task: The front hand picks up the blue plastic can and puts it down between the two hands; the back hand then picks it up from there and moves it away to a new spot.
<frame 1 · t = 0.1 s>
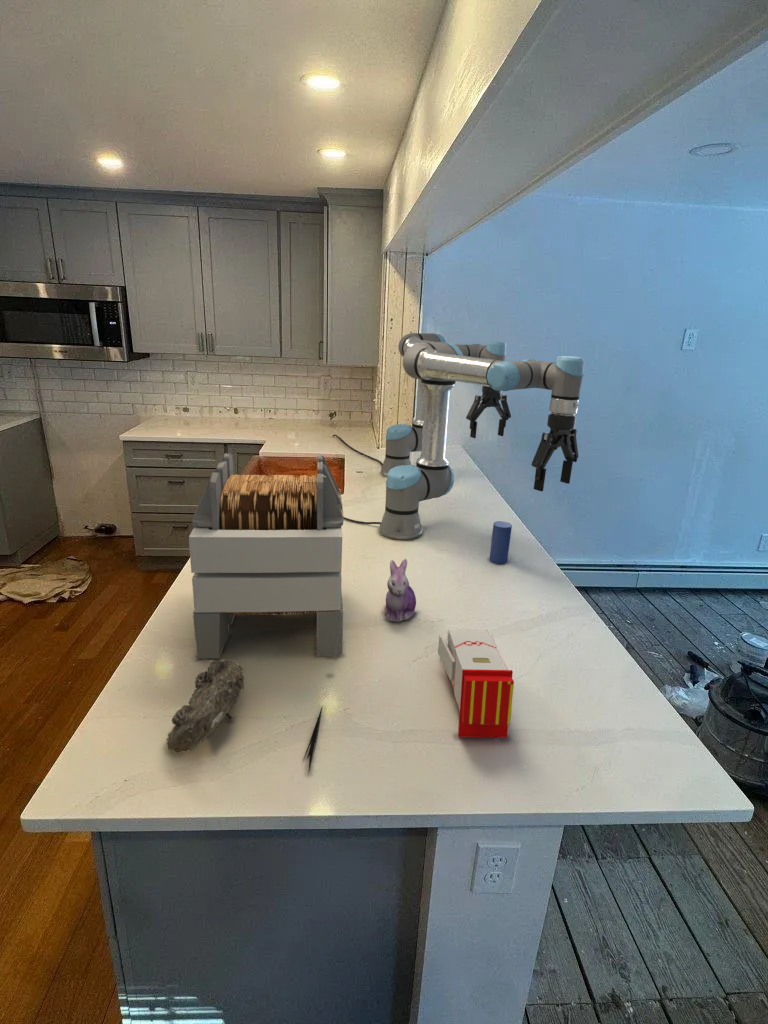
front hand: (551, 486, 166), 28 cm above the counter, tool pointing down, fingers open, 13 cm apart
back hand: (486, 436, 227), 28 cm above the counter, tool pointing down, fingers open, 13 cm apart
fossil: (212, 717, 108), on the counter
feather: (319, 719, 109), on the counter
can: (498, 560, 182), on the counter
toy: (469, 691, 119), on the counter
figurine: (399, 614, 147), on the counter
transformer: (275, 620, 142), on the counter
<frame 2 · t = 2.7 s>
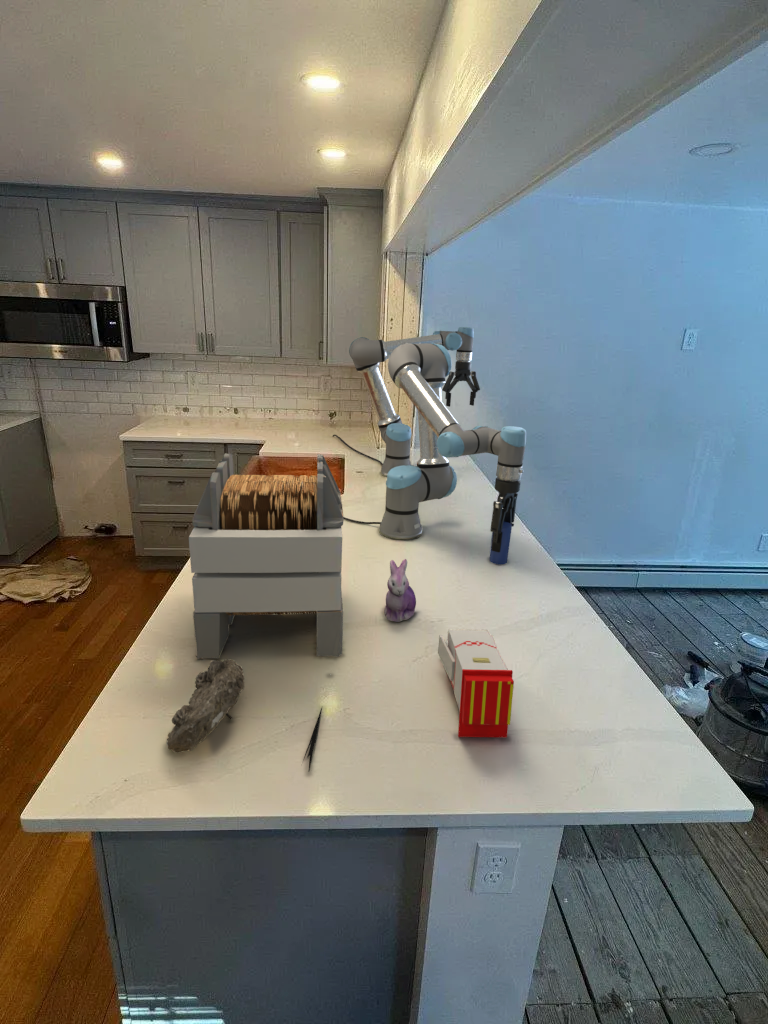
front hand: (499, 547, 180), 5 cm above the counter, tool pointing down, fingers closed on can, 6 cm apart
back hand: (459, 405, 278), 31 cm above the counter, tool pointing down, fingers open, 13 cm apart
can: (498, 560, 182), on the counter, touching front hand
everything else where it was.
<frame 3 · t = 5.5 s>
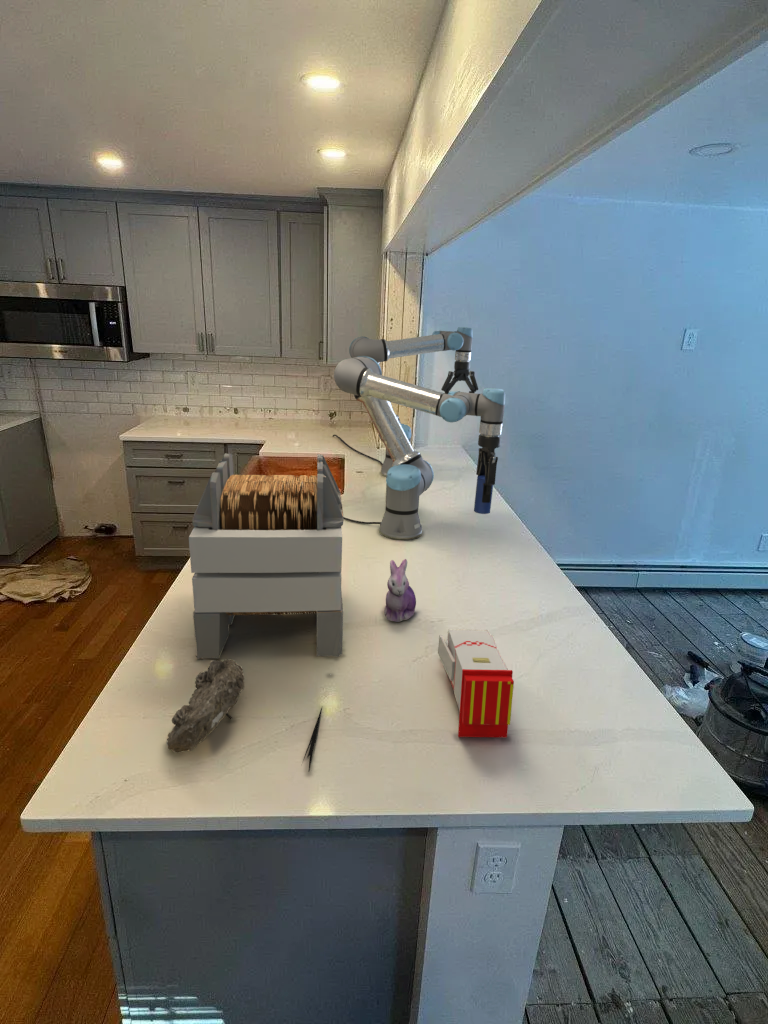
front hand: (483, 499, 201), 13 cm above the counter, tool pointing down, fingers closed on can, 6 cm apart
back hand: (458, 405, 280), 31 cm above the counter, tool pointing down, fingers open, 13 cm apart
can: (481, 511, 202), point 8 cm above the counter, touching front hand
everything else where it was.
when the front hand's fingers open (6 cm above the counter, at t = 8.2 s): can drops 1 cm, on the counter.
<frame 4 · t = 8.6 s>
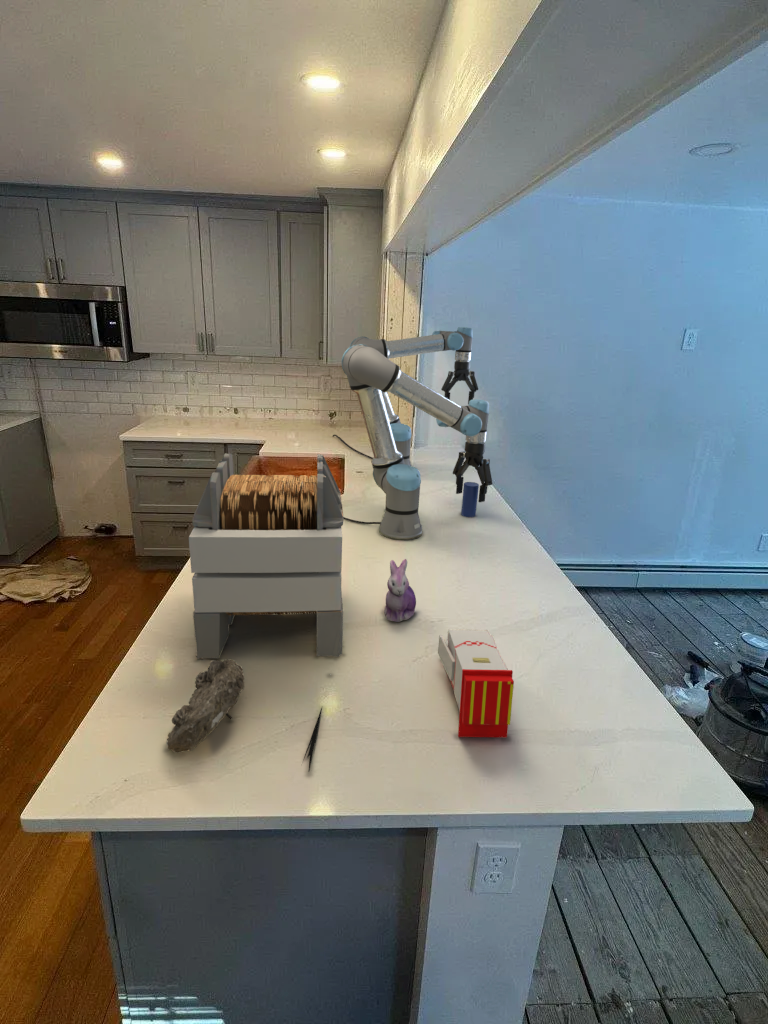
front hand: (470, 497, 219), 7 cm above the counter, tool pointing down, fingers open, 11 cm apart
back hand: (458, 405, 280), 31 cm above the counter, tool pointing down, fingers open, 13 cm apart
can: (468, 514, 222), on the counter
everything else where it was.
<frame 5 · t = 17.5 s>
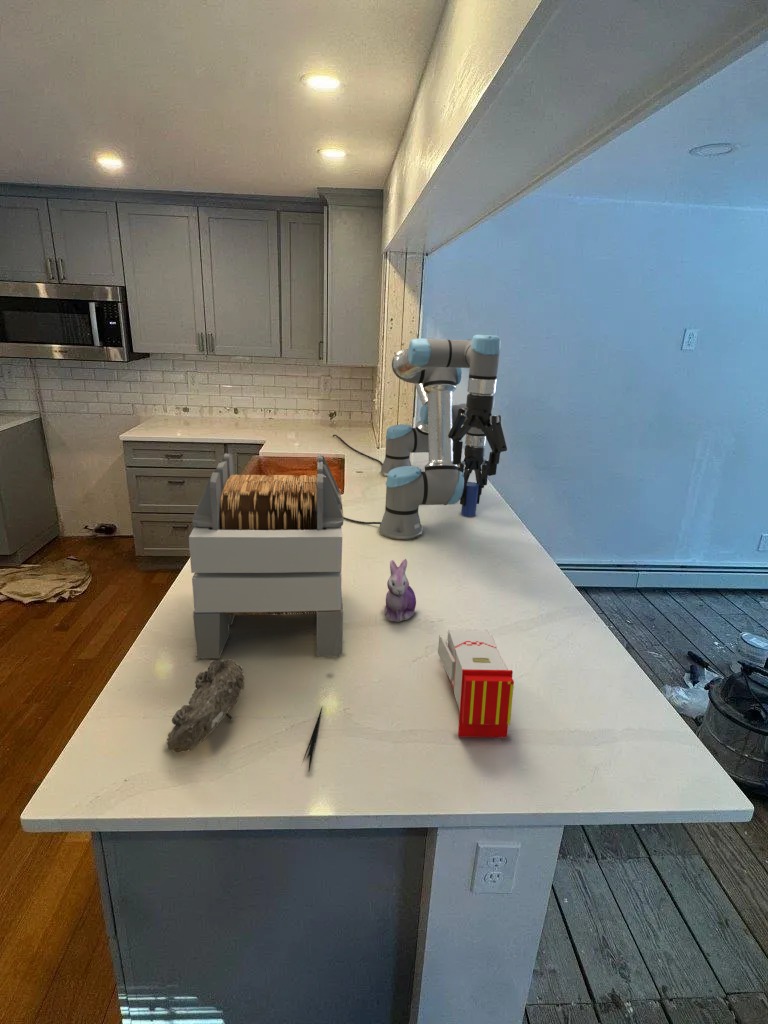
front hand: (473, 469, 162), 32 cm above the counter, tool pointing down, fingers open, 13 cm apart
back hand: (469, 503, 220), 5 cm above the counter, tool pointing down, fingers closed on can, 6 cm apart
can: (468, 514, 222), on the counter, touching back hand
everything else where it was.
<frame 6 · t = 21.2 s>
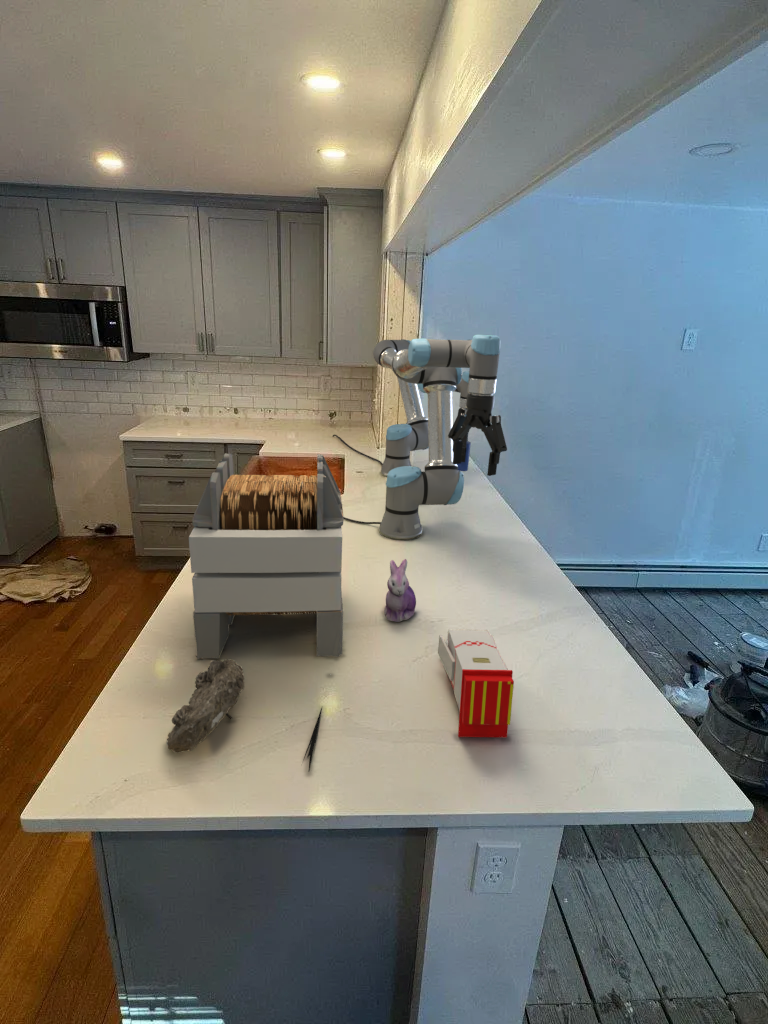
front hand: (473, 469, 162), 32 cm above the counter, tool pointing down, fingers open, 13 cm apart
back hand: (462, 459, 254), 12 cm above the counter, tool pointing down, fingers closed on can, 6 cm apart
can: (461, 469, 256), point 8 cm above the counter, touching back hand
everything else where it was.
when the back hand's fingers open (6 cm above the counter, at t = 24.9 s): can drops 1 cm, on the counter.
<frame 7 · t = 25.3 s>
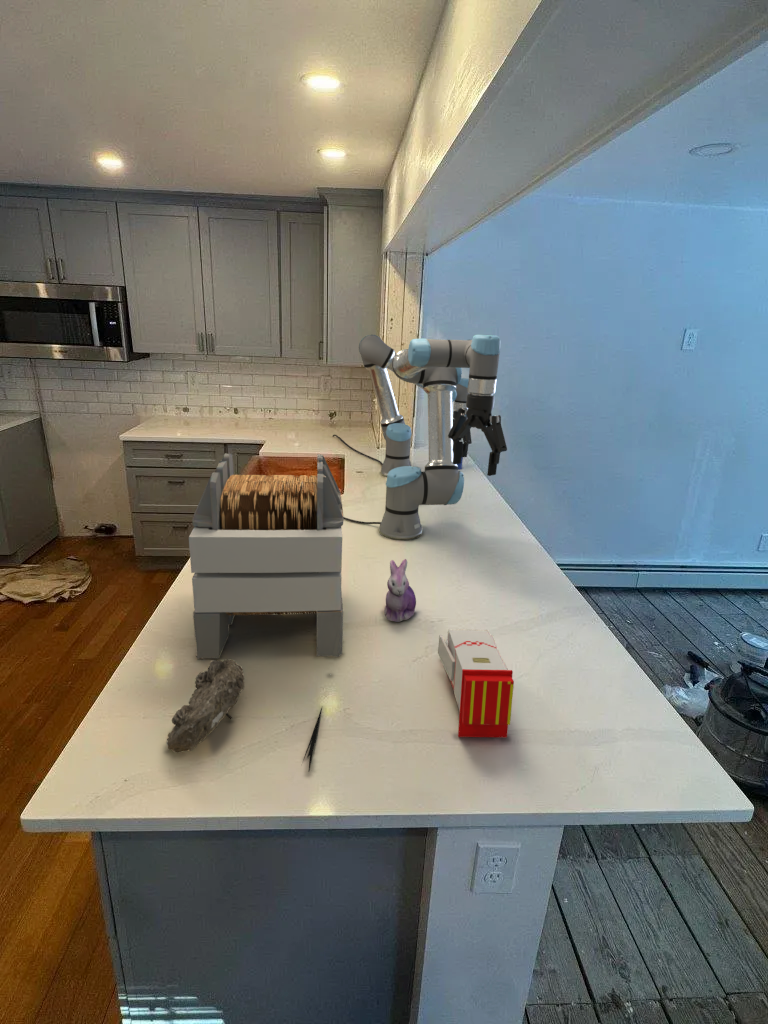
front hand: (473, 469, 162), 32 cm above the counter, tool pointing down, fingers open, 13 cm apart
back hand: (457, 454, 284), 7 cm above the counter, tool pointing down, fingers open, 11 cm apart
can: (456, 468, 287), on the counter
everything else where it was.
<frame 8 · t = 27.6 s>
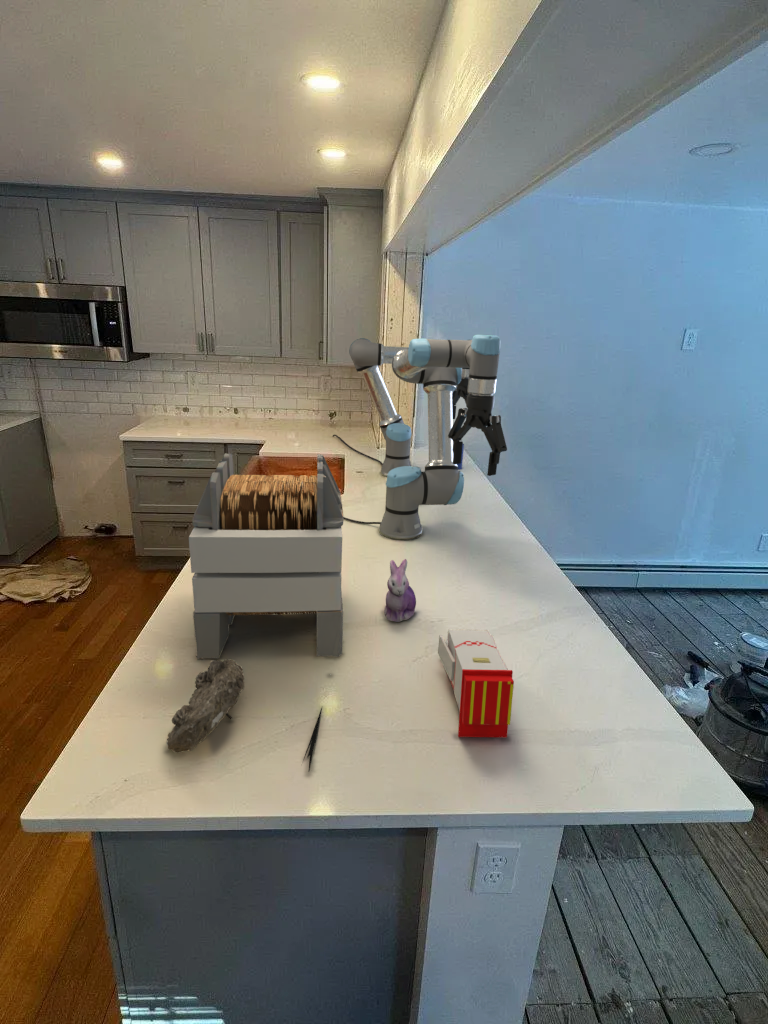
front hand: (473, 469, 162), 32 cm above the counter, tool pointing down, fingers open, 13 cm apart
back hand: (460, 421, 279), 24 cm above the counter, tool pointing down, fingers open, 13 cm apart
nothing on the counter moved.
at the end: can inside the target area (0.0 cm from its centre), on the counter; can tilted 0°; the two hands never held the can at the same time; the front hand is holding nothing; the back hand is holding nothing; can at rest at the end (0.0 cm/s) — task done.
